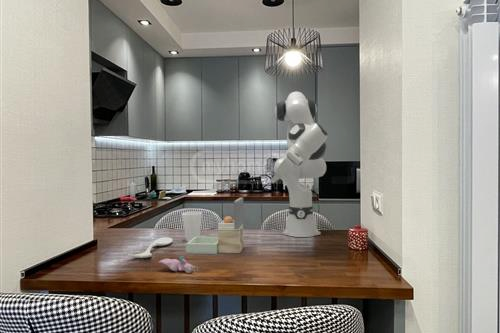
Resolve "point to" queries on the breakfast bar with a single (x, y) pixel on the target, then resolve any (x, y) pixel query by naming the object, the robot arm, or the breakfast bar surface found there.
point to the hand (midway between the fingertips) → (272, 181)
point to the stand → (230, 241)
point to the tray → (202, 245)
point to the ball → (228, 219)
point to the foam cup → (192, 224)
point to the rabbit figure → (179, 265)
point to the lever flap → (235, 217)
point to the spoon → (157, 242)
